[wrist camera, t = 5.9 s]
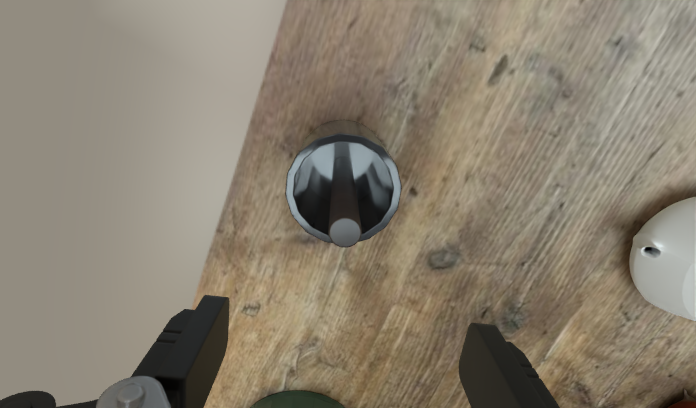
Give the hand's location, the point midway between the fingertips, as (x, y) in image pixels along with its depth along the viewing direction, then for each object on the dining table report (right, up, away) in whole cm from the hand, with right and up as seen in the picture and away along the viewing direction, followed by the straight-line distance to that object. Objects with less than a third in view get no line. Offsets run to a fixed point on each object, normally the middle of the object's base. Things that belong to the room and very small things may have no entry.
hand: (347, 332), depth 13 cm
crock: (-1, +8, +24) cm, 25 cm away
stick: (0, +8, +23) cm, 24 cm away
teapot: (+34, 0, +28) cm, 43 cm away
